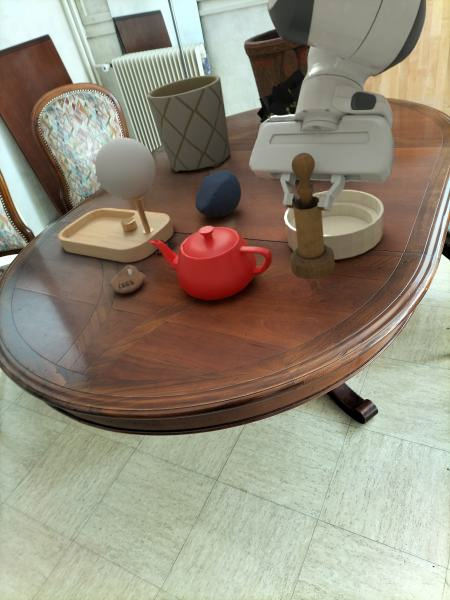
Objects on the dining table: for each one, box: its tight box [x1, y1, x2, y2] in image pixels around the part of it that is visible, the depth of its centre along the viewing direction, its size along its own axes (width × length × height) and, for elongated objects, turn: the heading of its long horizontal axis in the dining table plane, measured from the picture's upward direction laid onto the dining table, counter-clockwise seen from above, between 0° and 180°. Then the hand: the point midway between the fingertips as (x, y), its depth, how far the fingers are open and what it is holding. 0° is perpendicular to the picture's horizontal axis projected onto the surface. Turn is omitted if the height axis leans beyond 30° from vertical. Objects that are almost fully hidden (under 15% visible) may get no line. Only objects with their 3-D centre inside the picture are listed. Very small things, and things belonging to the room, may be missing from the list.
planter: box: [146, 74, 231, 173], centre depth 133 cm, size 23×23×24 cm
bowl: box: [283, 189, 385, 260], centre depth 85 cm, size 19×19×6 cm
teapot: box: [149, 225, 273, 301], centre depth 79 cm, size 25×16×12 cm, turn 69°
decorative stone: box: [195, 169, 242, 218], centre depth 103 cm, size 12×12×10 cm
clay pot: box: [243, 28, 310, 107], centre depth 136 cm, size 25×29×30 cm
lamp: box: [57, 137, 175, 263], centre depth 98 cm, size 33×17×25 cm, turn 59°
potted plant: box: [256, 69, 305, 124], centre depth 110 cm, size 21×22×30 cm
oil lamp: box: [108, 264, 147, 294], centre depth 87 cm, size 9×4×8 cm
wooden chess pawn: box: [290, 153, 336, 280], centre depth 60 cm, size 7×6×18 cm
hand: (306, 208), depth 59 cm, fingers closed on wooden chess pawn, 4 cm apart
